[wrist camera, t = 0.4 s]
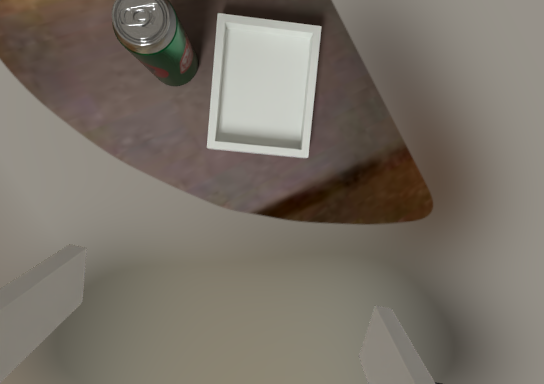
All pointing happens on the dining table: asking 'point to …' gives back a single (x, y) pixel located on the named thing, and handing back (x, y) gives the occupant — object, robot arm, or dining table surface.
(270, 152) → the tray
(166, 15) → the soda can
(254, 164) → the dining table surface
